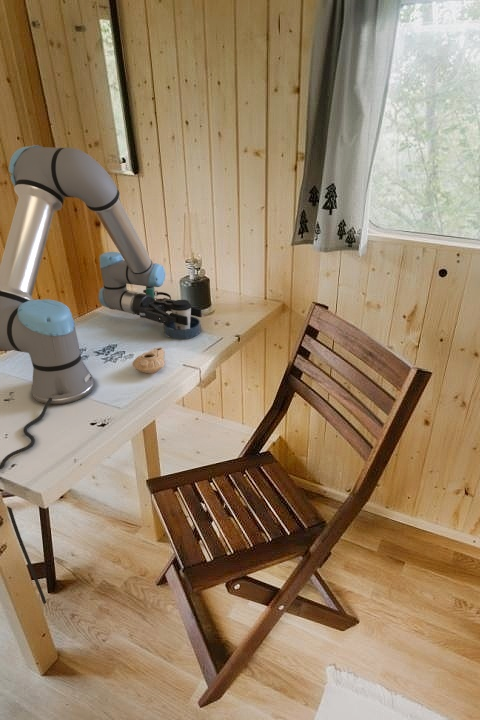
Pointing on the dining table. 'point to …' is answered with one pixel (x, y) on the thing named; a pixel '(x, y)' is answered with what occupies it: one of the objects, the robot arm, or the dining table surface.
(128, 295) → the robot arm
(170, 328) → the bowl
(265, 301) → the dining table surface
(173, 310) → the coffee cup
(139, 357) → the pottery oil lamp
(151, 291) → the green and brown piece
